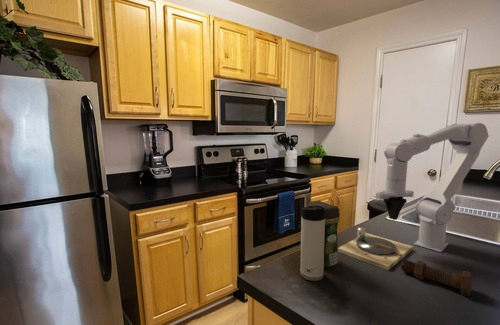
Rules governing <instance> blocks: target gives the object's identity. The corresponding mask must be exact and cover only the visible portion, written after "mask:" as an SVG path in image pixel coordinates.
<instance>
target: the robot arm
mask: <svg viewBox="0 0 500 325" xmlns="http://www.w3.org/2000/svg"><path fill="white" fill-rule="evenodd" d="M489 137H490V136H489V132H488V129H487V127H486V125H485V124H484V123H482V122H476V123H452V124H450V125H446V126H445V127H443V128H441V129H438V130H436V131H433V132H431V133H430V134H427V135H425V134H420V133H415V134H413V135H412V137H409V138H407V139H405V138H404V139H401V140H400V141H399V143H398V142H391V143H390V144H388V146H387V147H386V149H385V150H384V151H383V154H384V156H385V159H386V163H387V166H386V182H385V190H383V191H379V192H375V199H377V200H378V201H379V200H380V201H382V200H383V202H384V204H385V207H386V209H387V213H388V217H389V219H391V220H395V221H396V220H397V219H398V218H399V215H400V213H401V211H402V208H403V207H404V206H405V204H407V200H408V199H406V198H408V197H410V198H414V190H409V189H408V190H406V187H407V186H406V185H407V176H408V175H407V173H408V161H410V160H412V158H413V157H414V156H416V155H418V154H422V153H424V152H427V151H429V150H430V148H431V146H433V145H435V144H438V143H441V142H445V141H448V142H449V143H450V145H451V146H452V148H453V150H455V151H456V155H455V156H454V158H453V159H452V161H451V163H450V164H449V166H448V167H447V169H446V170H445V172H444V174H443V176H442V177H441V179H440V180H439V181H438V183H437V185H436V186H435V187H434V189H433V191H431V192H428V193H426V194H424V195H423V197H422V198H421V199H419V200H418V201H417V202H416V204H415V208H414V209H415V212H416V214H417V215H418V218H419V227H418V231H419V233H418V239H417V240H416V241H415V242H413V245H414V246H418V247H421V248H425V249H429V250H432V251H435V252H439V253H442V252H443V251H444V250H445V249H446V248H447V246H448V245H449V242H446V233H447V226H446V225H447V224H448V223H449V222H450V221H451V220H452V218H453V216H454V215H453V214H454V211H455V208H456V204H455V203H454V202H453V200H452V199H453V198H454V196H455V194H456V192H457V190H458V189H459V188H460V187H461V184H462V183H463V182H464V180H465V178H466V177H467V174H468V173H469V172H470V171H471V168H472V167H473V165H474V164H475V163H476V160H477V159H478V158H479V156H480V153H481V150H482V147H483V146H484V145H485V143H486V142H487V140H488V138H489Z"/></svg>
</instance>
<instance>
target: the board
mask: <svg viewBox="0 0 500 325" xmlns="http://www.w3.org/2000/svg"><path fill="white" fill-rule="evenodd" d="M365 237H377V238H381V239H385V240H388V241H390V242H392V243H393V244H394V245H395V246H396V252H395V253H393V254H389V255H379V254H373V253H369V252H366V251H364V250H362V249H360V248H359V247H358V246H357V245H356V240H357V237H355V238H354V239H352V240H350V241H348V242H347V243H345V244H342V245H341V246H339V247H338V253H341V254H344V255H345V256H349V257H351V258H354V259H357V260H359V261H362V262H365V263H367V264H370V265H372V266H376V267H379V268H380V269H384V270H386V271H389V270H391V269H392V268H393V267H394V266H395V265H397V264H398V263H399V262H400V261H401V260H402V259H404V258H405V257H406V256H407V255H408V254H409V253H410V252H412V251H413V248H414V246H413V245H409V244H407V243H406V244H405V243H403V242H402V243H401V242H399V241H395V240H392V239H388V238H385V237H382V236H378V235H374V234H371V233H368V232H365Z"/></svg>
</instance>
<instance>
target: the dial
mask: <svg viewBox="0 0 500 325" xmlns="http://www.w3.org/2000/svg"><path fill="white" fill-rule="evenodd" d="M366 229H367V228H366V227H362V226H358V227H357V231H356V235H357V236H356V238H357V240H356V245H357V246H358V247H359V248H360V249H362V250H364V251H366V252H369V253H373V254H379V255H389V254H393V253H395V252H396V246H395V245H394V244H393V243H392V242H390V241H388V240H385V239H386V238H385V239H381V238H377V237H365V233H367V232H366V231H367V230H366Z"/></svg>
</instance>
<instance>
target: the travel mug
mask: <svg viewBox="0 0 500 325" xmlns="http://www.w3.org/2000/svg"><path fill="white" fill-rule="evenodd" d="M300 216H301V217H300V218H301V219H300V220H301V221H300V223H301V226H300V267H299V269H300V272H299V274H300V276H301V277H302V279H303V278H304V279H305V280H308V281H311V282H318V281H320V280H323V278H324V268H325V267H324V234H325V207H323V206H309V207H308V206H302V207H301V215H300Z"/></svg>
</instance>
